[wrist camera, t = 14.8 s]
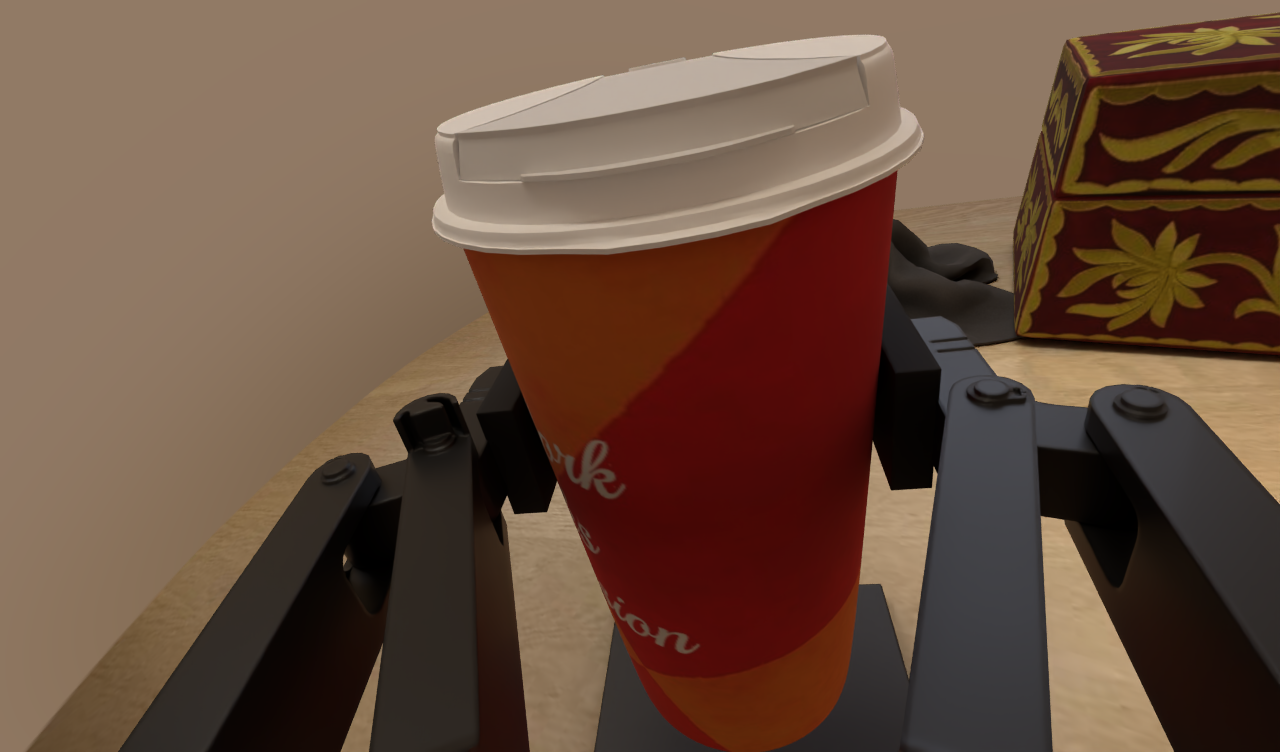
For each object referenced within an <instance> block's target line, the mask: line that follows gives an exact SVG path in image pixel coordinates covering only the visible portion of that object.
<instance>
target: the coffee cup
mask: <svg viewBox="0 0 1280 752" xmlns="http://www.w3.org/2000/svg"><path fill="white" fill-rule="evenodd" d="M712 55H713V56H707V57H702V58H697V59H692V60H686V59H685V58H680V59H674V60H669V61H665V62H659V63H655V64H649V65H644V66H639V67H634V68H630V69H629V72H627V73H622V74H617V75H612V76H607V77H604V75H602V76H597V77H593V78H589V79H584V80H580V81H576V82H572V83H568V84H564V85H559V86H555V87H552V88H548V89H544V90H540V91H536V92H532V93H529V94H525V95H522V96H518V97H514V98H510V99H507V100H504V101H500V102H497V103H493V104H490V105H487V106H484V107H481V108H478V109H475V110H472V111H469V112H467V113H464V114H461V115H459V116H456V117H454V118H452V119H450V120H447V121H446V122H444V123H442V124H440V125H439V127H438V128H437V131H438V133H437V134H436V136H435V148H436V153H437V159H438V164H439V170H440V174H441V180H442V184H443V190H444V194H443V195H442V196H441V197H440V198H439V199H438V200H437V202H436V204H435V206H434V208H433V219H432V225H433V229H434V232H435V234H436V235H437V236H439V238H441V239H442V240H443V241H444V242H447V243H449V244H452V245H454V246H457V247H460V248H463V249H464V251H465V254H466V256H467V259H468V261H469V264H470V266H471V268H472V271H473V274H474V276H475V278H476V281H477V283H478V286H479V288H480V291H481V293H482V296H483V298H484V301H485V303H486V306H487V308H488V311H489V313H490V316H491V318H492V320H493V323H494V325H495V328H496V330H497V333H498V335H499V338H500V340H501V343H502V345H503V348H504V350H505V353H506V355H507V357H508V360H509V362H510V365H511V367H512V370H513V372H514V375H515V377H516V380H517V382H518V385H519V387H520V390H521V392H522V395H523V397H524V399H525V402H526V404H527V407H528V409H529V412H530V414H531V417H532V419H533V422H534V424H535V427H536V429H537V432H538V434H539V437H540V439H541V442H542V444H543V446H544V449H545V451H546V454H547V456H548V459H549V461H550V464H551V466H552V469H553V471H554V474H555V476H556V479H557V481H558V484H559V486H560V489H561V491H562V494H563V496H564V498H565V501H566V503H567V506H568V508H569V511H570V513H571V516H572V518H573V521H574V523H575V526H576V528H577V530H578V533H579V535H580V538H581V540H582V543H583V545H584V548H585V550H586V552H587V555H588V557H589V560H590V562H591V565H592V567H593V570H594V572H595V574H596V577H597V579H598V582H599V584H600V587H601V589H602V592H603V594H604V596H605V599H606V601H607V604H608V606H609V608H610V611H611V613H612V616H613V618H614V620H615V623H616V625H617V628H618V630H619V632H620V635H621V637H622V640H623V642H624V644H625V647H626V649H627V651H628V653H629V656H630V658H631V660H632V662H633V665H634V667H635V669H636V671H637V674H638V676H639V678H640V680H641V682H642V684H643V686H644V688H645V690H646V692H647V694H648V696H649V698H650V699H651V701H652V702H653V704H654V705H655V707H656V708H657V710H658V711H659V712H660V713H661V715H662V716H663V717H664V718H665V719H666V720H667V721H668V722H669V723H670V724H671V725H672V726H673V727H674V728H675V729H677V730H678V731H679V732H681V733H682V734H684V735H685V736H687V737H689V738H690V739H692V740H694V741H696V742H698V743H700V744H703V745H705V746H708V747H711V748H714V749H718V750H722V751H728V752H764V751H770V750H774V749H777V748H781V747H783V746H786V745H789V744H791V743H793V742H795V741H797V740H799V739H801V738H803V737H804V736H806V735H807V734H809V733H810V732H811V731H813V730H814V729H815V728H816V727H818V726H819V725H820V724H821V723H822V722H823V721H824V720H825V718H826V717H827V716H828V715H829V714H830V712H831V711H832V709H833V708H834V706H835V705H836V703H837V701H838V699H839V697H840V695H841V692H842V690H843V687H844V684H845V681H846V677H847V673H848V667H849V662H850V656H851V649H852V641H853V633H854V625H855V617H856V607H857V597H858V588H859V578H860V568H861V558H862V548H863V537H864V527H865V516H866V506H867V496H868V485H869V475H870V464H871V453H872V442H873V431H874V420H875V409H876V398H877V387H878V376H879V365H880V354H881V343H882V332H883V322H884V311H885V300H886V289H887V278H888V267H889V257H890V246H891V235H892V224H893V213H894V202H895V190H896V180H897V170H898V169H900V168H901V167H903V166H904V165H906V164H907V163H909V162H910V161H911V160H912V159H913V158H914V156H916V154H917V153H918V152H919V151H920V150H921V148H922V144H923V141H924V133H923V131H922V129H921V127H920V125H919V123H918V121H917V119H916V117H915V115H914V114H913V113H911V112H910V111H908V110H906V109H905V108H901V107H900V102H899V92H898V82H897V74H896V67H895V58H894V54H893V51H892V49H891V47H890V45H889V44H888V43H887V40H886V39H885V37H882V36H878V35H845V36H832V37H822V38H813V39H804V40H796V41H788V42H780V43H774V44H767V45H760V46H753V47H747V48H741V49H735V50H729V51H723V52H718V53H713V54H712Z"/></svg>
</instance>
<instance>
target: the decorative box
mask: <svg viewBox="0 0 1280 752" xmlns="http://www.w3.org/2000/svg"><path fill="white" fill-rule="evenodd" d="M1013 247H1014V323H1015V333H1016V335H1018V336H1025V337H1031V338H1045V339H1058V340H1072V341H1086V342H1099V343H1113V344H1127V345H1141V346H1155V347H1170V348H1184V349H1198V350H1212V351H1226V352H1241V353H1255V354H1269V355H1280V13H1271V14H1263V15H1254V16H1246V17H1238V18H1229V19H1222V20H1214V21H1204V22H1197V23H1188V24H1181V25H1180V24H1179V25H1172V26H1164V27H1154V28H1146V29H1138V30H1131V31H1122V32H1114V33H1106V34H1098V35H1090V36H1081V37H1077V38H1073V39H1069V40H1067V41H1066V43H1065V45H1064V47H1063V50H1062V54H1061V57H1060V61H1059V64H1058V68H1057V72H1056V75H1055V79H1054V83H1053V86H1052V90H1051V94H1050V98H1049V101H1048V105H1047V109H1046V112H1045V116H1044V120H1043V125H1042V131H1041V133H1040V136H1039V139H1038V143H1037V146H1036V150H1035V153H1034V157H1033V161H1032V165H1031V168H1030V172H1029V176H1028V179H1027V183H1026V187H1025V191H1024V195H1023V198H1022V202H1021V205H1020V209H1019V213H1018V217H1017V220H1016V224H1015V228H1014V235H1013Z"/></svg>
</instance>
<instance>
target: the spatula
mask: <svg viewBox="0 0 1280 752" xmlns="http://www.w3.org/2000/svg"><path fill="white" fill-rule="evenodd" d="M908 686H909V678H908V675H907V671H906V668H905V665H904V661H903V658H902V654H901V651H900V647H899V644H898V640H897V637H896V633H895V630H894V627H893V623H892V620H891V616H890V613H889V609H888V606H887V602H886V599H885V595H884V592H883V589H882V586H881V584H864V585H859V588H858V597H857V607H856V617H855V625H854V633H853V641H852V649H851V656H850V662H849V667H848V673H847V677H846V681H845V684H844V687H843V690H842V692H841V695H840V697H839V699H838V701H837V703H836V705H835V706H834V708H833V709H832V711H831V712H830V714H829V715H828V716H827V717H826V718H825V720H824V721H823V722H822V723H821V724H820V725H819V726H818V727H816V728H815V729H814V730H813V731H811V732H810V733H809V734H807V735H806V736H804V737H803V738H801V739H799V740H797V741H795V742H793V743H791V744H789V745H786V746H783V747H781V748H777V749H774V750H770V751H764V752H898V751H899V748H900V743H901V736H902V729H903V722H904V715H905V707H906V700H907V693H908ZM594 752H728V751H722V750H718V749H714V748H711V747H708V746H705V745H703V744H700V743H698V742H696V741H694V740H692V739H690V738H689V737H687V736H685V735H684V734H682V733H681V732H679V731H678V730H677V729H675V728H674V727H673V726H672V725H671V724H670V723H669V722H668V721H667V720H666V719H665V718H664V717H663V716H662V715H661V713H660V712H659V711H658V710H657V708H656V707H655V705H654V704H653V702H652V701H651V699H650V698H649V696H648V694H647V692H646V690H645V688H644V686H643V684H642V682H641V680H640V678H639V676H638V674H637V671H636V669H635V667H634V665H633V662H632V660H631V658H630V656H629V653H628V651H627V649H626V647H625V644H624V642H623V640H622V637H621V635H620V632H619V630H618V628H617V625H616V623H614V630H613V636H612V642H611V648H610V655H609V661H608V667H607V674H606V680H605V686H604V693H603V699H602V705H601V712H600V718H599V724H598V731H597V737H596V743H595V750H594Z"/></svg>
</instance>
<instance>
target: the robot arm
mask: <svg viewBox="0 0 1280 752" xmlns="http://www.w3.org/2000/svg"><path fill="white" fill-rule="evenodd" d="M393 422H394V424H395V426H396V428H397V430H398V432H399V434H400V437H401V439H402V441H403V443H404V445H405V447H406V449H407V451H408V457H407V459H406V460H403V461H400V462H396V463H393V464H389V465H386V466H382V467H379V468H375V467H374V465H373V463H372V461H371V459H370V457H369V455H366V454H363V453H350V454H347V455H343V456H338V457H335V458H334V459H331V460H329V461H327V462H326V463H325V464H324V465H322V466H321V467H319V468H318V469H316V470H315V471H314V472H313V474H312V475H311V476H310V477H309V478H308V479H307V481H306V482H305V483H304V485H303V486H302V488H301V489H300V491H299V492H298V494H297V495H296V496H295V498H294V499H293V501H292V502H291V504H290V505H289V506H288V508H287V509H286V511H285V512H284V514H283V515H282V517H281V518H280V519H279V521H278V522H277V524H276V525H275V527H274V528H273V530H272V531H271V532H270V534H269V535H268V537H267V538H266V540H265V541H264V542H263V544H262V545H261V547H260V548H259V550H258V551H257V553H256V554H255V555H254V557H253V558H252V560H251V561H250V563H249V564H248V565H247V567H246V568H245V570H244V571H243V573H242V574H241V576H240V577H239V578H238V580H237V581H236V583H235V584H234V586H233V587H232V589H231V590H230V591H229V593H228V594H227V596H226V597H225V599H224V600H223V601H222V603H221V604H220V606H219V607H218V609H217V610H216V612H215V613H214V614H213V616H212V617H211V619H210V620H209V622H208V623H207V624H206V626H205V627H204V629H203V630H202V632H201V633H200V635H199V636H198V637H197V639H196V640H195V642H194V643H193V645H192V646H191V647H190V649H189V650H188V652H187V653H186V655H185V656H184V658H183V659H182V660H181V662H180V663H179V665H178V666H177V668H176V669H175V671H174V672H173V673H172V675H171V676H170V678H169V679H168V681H167V682H166V683H165V685H164V686H163V688H162V689H161V691H160V692H159V694H158V695H157V696H156V698H155V699H154V701H153V702H152V704H151V705H150V706H149V708H148V709H147V711H146V712H145V714H144V715H143V717H142V718H141V719H140V721H139V722H138V724H137V725H136V727H135V728H134V730H133V731H132V732H131V734H130V735H129V737H128V738H127V740H126V741H125V742H124V744H123V745H122V747H121V748H120V750H119V751H118V752H340V751H341V749H342V746H343V744H344V741H345V739H346V736H347V733H348V731H349V728H350V726H351V723H352V721H353V718H354V716H355V713H356V710H357V708H358V705H359V703H360V700H361V698H362V695H363V692H364V690H365V687H366V685H367V682H368V680H369V677H370V674H371V672H372V669H373V667H374V664H375V662H376V659H377V657H378V654H379V651H380V649H381V646H382V644H383V649H382V656H381V664H380V672H379V679H378V687H377V695H376V702H375V710H374V718H373V725H372V733H371V741H370V748H369V752H530V750H529V740H528V730H527V720H526V710H525V700H524V690H523V680H522V671H521V661H520V651H519V641H518V631H517V621H516V611H515V601H514V591H513V582H512V572H511V562H510V552H509V542H508V532H507V524H506V521H505V519H504V516H503V514H502V511H501V508H502V506H503V503H504V501H505V499H506V496H508V498H509V501H510V504H511V506H512V509H513V511H514V514H524V513H540V512H547V511H548V507H549V504H550V501H551V498H552V495H553V492H554V489H555V486H556V483H557V479H556V476H555V474H554V471H553V469H552V466H551V464H550V461H549V459H548V456H547V454H546V451H545V449H544V446H543V444H542V442H541V439H540V437H539V434H538V432H537V429H536V427H535V424H534V422H533V419H532V417H531V414H530V412H529V409H528V407H527V404H526V402H525V399H524V397H523V395H522V392H521V390H520V387H519V385H518V382H517V380H516V377H515V375H514V372H513V370H512V367H511V365H510V362H509V360H508V359H507V361H506V363H505V364H504V366H497V367H490V368H489V369H487V370H486V371H485V372H484V373H482V374H481V375H480V376H479V377H477V378H476V380H475V381H474V383H473V384H472V386H471V388H470V389H469V393H467V394H466V395H465V397H464V399H463V402H461V403H460V405H459V404H458V401H457V399H456V397H455V396H453V395H451V394H445V393H438V394H433V395H427V396H425V397H422V398H419V399H417V400H414V401H413V402H411V403H409V404H408V405H406V406H404V407H403V408H402V409H401V410H400V411H399V412H398V413H397V414H396V416H395V417H394V419H393ZM873 442H874V445H875V448H876V450H877V453H878V456H879V459H880V461H881V464H882V467H883V470H884V472H885V475H886V478H887V480H888V483H889V486H890V489H891V490H904V489H920V488H932V479H933V467H935V469H936V471H937V473H938V476H937V483H936V490H935V497H934V505H933V512H932V519H931V526H930V534H929V541H928V548H927V555H926V563H925V570H924V577H923V584H922V592H921V599H920V606H919V613H918V620H917V628H916V635H915V642H914V649H913V657H912V664H911V671H910V678H909V686H908V693H907V700H906V707H905V715H904V722H903V729H902V736H901V743H900V748H899V751H898V752H1053V749H1052V729H1051V710H1050V690H1049V671H1048V651H1047V631H1046V612H1045V592H1044V573H1043V553H1042V534H1041V516H1044V517H1051V518H1057V519H1063V520H1064V521H1065V525H1066V527H1067V529H1068V531H1069V533H1070V535H1071V537H1072V539H1073V541H1074V543H1075V546H1076V548H1077V550H1078V552H1079V554H1080V556H1081V558H1082V560H1083V562H1084V564H1085V566H1086V568H1087V571H1088V573H1089V575H1090V577H1091V579H1092V581H1093V583H1094V585H1095V587H1096V589H1097V591H1098V594H1099V596H1100V598H1101V600H1102V602H1103V604H1104V606H1105V608H1106V610H1107V612H1108V614H1109V616H1110V619H1111V621H1112V623H1113V625H1114V627H1115V629H1116V631H1117V633H1118V635H1119V637H1120V639H1121V642H1122V644H1123V646H1124V648H1125V650H1126V652H1127V654H1128V656H1129V658H1130V660H1131V662H1132V664H1133V667H1134V669H1135V671H1136V673H1137V675H1138V677H1139V679H1140V681H1141V683H1142V685H1143V687H1144V690H1145V692H1146V694H1147V696H1148V698H1149V700H1150V702H1151V704H1152V706H1153V708H1154V710H1155V712H1156V715H1157V717H1158V719H1159V721H1160V723H1161V725H1162V727H1163V729H1164V731H1165V733H1166V735H1167V738H1168V740H1169V742H1170V744H1171V746H1172V748H1173V750H1174V752H1280V504H1279V503H1278V502H1277V501H1276V500H1275V499H1274V498H1273V497H1272V495H1271V494H1270V493H1269V492H1268V491H1267V490H1266V489H1265V488H1264V487H1263V486H1262V484H1261V483H1260V482H1259V481H1258V480H1257V479H1256V478H1255V477H1254V476H1253V475H1252V473H1251V472H1250V471H1249V470H1248V469H1247V468H1246V467H1245V466H1244V465H1243V464H1242V462H1241V461H1240V460H1239V459H1238V458H1237V457H1236V456H1235V455H1234V454H1233V453H1232V451H1231V450H1230V449H1229V448H1228V447H1227V446H1226V445H1225V444H1224V443H1223V442H1222V440H1221V439H1220V438H1219V437H1218V436H1217V435H1216V434H1215V433H1214V432H1213V431H1212V429H1211V428H1210V427H1209V426H1208V425H1207V424H1206V423H1205V422H1204V421H1203V420H1202V419H1201V417H1200V416H1199V415H1198V414H1197V413H1196V412H1195V411H1194V410H1193V409H1192V408H1191V406H1190V405H1188V404H1187V403H1186V402H1184V401H1183V400H1182V399H1180V398H1179V397H1177V396H1175V395H1172V394H1170V393H1168V392H1165V391H1163V390H1160V389H1157V388H1153V387H1148V386H1143V385H1126V384H1121V385H1113V386H1106V387H1104V388H1101V389H1099V390H1097V391H1095V392H1094V393H1093V395H1092V396H1091V398H1090V401H1089V405H1088V408H1086V407H1075V406H1063V405H1054V404H1047V403H1041V402H1037V401H1035V398H1034V396H1033V394H1032V392H1031V390H1030V389H1028V388H1027V387H1026V386H1024V385H1023V384H1022V383H1019V382H1017V381H1014V380H1012V379H1009V378H1005V377H999V376H997V375H996V374H995V373H994V371H993V370H992V369H991V367H990V366H989V365H988V363H987V362H986V361H985V359H984V358H983V357H982V356H981V354H980V353H979V352H978V350H977V349H975V346H974V345H973V344H972V342H971V341H970V340H969V339H967V336H966V335H965V333H964V332H963V331H962V329H961V328H960V327H959V325H957V324H955V323H953V322H951V321H949V320H947V319H946V318H944V317H942V316H935V317H926V318H917V319H910V318H909V316H908V315H907V313H906V311H905V310H904V308H903V307H902V305H901V303H900V302H899V300H898V299H897V297H896V295H895V294H894V292H893V291H892V289H891V287H890V286H889V284H888V283H887V289H886V300H885V311H884V322H883V332H882V343H881V354H880V365H879V376H878V387H877V398H876V409H875V420H874V431H873ZM344 554H345V556H346V557H347V561H346V563H345V565H344V567H343V556H344Z"/></svg>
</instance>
